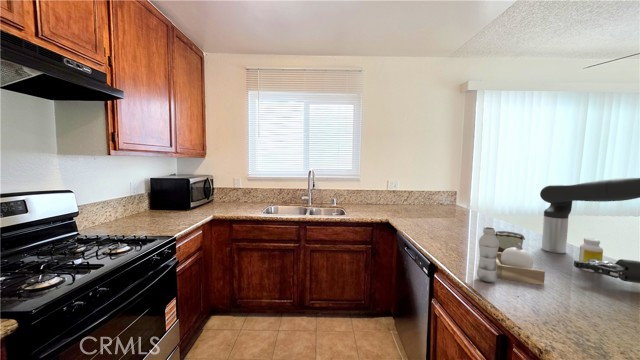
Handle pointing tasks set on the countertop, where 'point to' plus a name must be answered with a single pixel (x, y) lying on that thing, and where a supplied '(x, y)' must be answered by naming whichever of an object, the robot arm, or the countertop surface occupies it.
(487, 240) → the plastic bottle
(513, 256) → the ornament
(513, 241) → the food container
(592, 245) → the supplement bottle
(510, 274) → the bay
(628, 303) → the countertop surface
